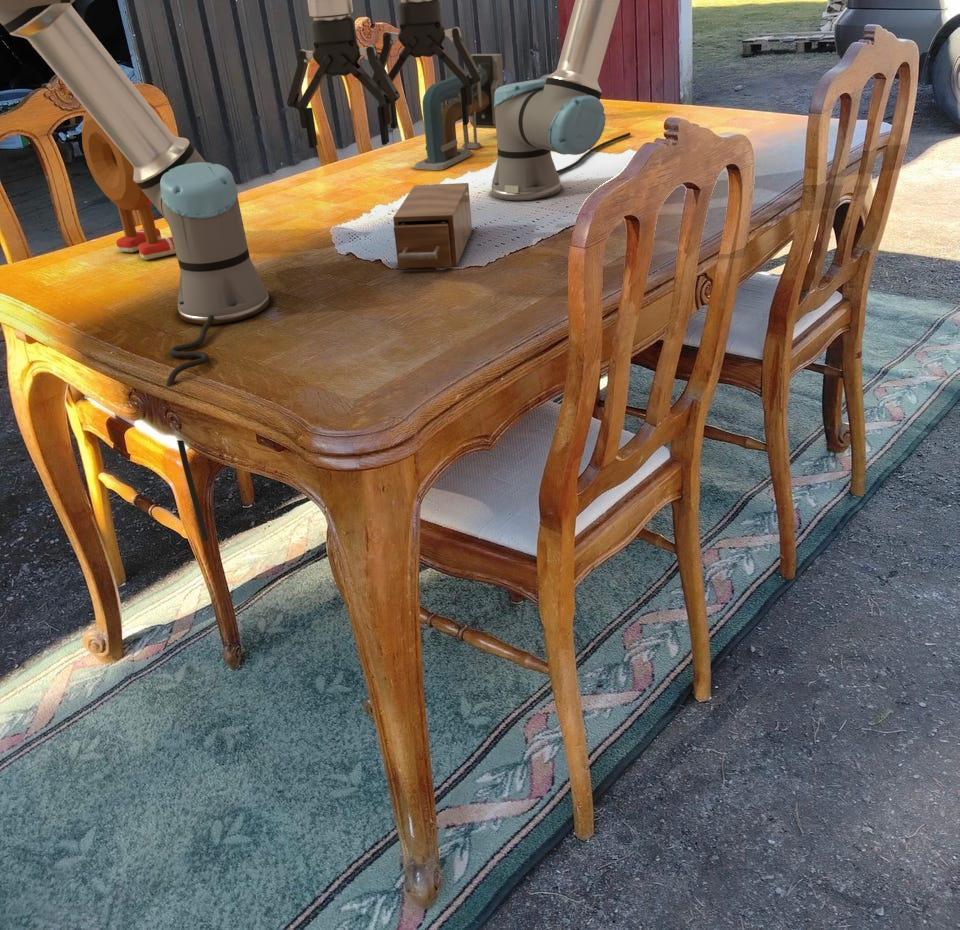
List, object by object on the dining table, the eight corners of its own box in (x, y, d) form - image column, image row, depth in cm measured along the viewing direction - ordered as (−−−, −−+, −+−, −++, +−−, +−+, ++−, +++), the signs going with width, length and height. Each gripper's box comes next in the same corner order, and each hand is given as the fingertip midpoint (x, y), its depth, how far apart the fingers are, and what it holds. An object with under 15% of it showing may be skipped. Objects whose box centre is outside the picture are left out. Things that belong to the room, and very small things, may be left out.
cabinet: (457, 265, 176) (452, 215, 172) (399, 267, 178) (393, 217, 173) (472, 229, 195) (468, 182, 190) (419, 231, 196) (414, 185, 191)
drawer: (446, 276, 169) (442, 234, 165) (393, 278, 171) (387, 236, 167) (466, 232, 191) (462, 193, 187) (418, 233, 192) (414, 195, 188)
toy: (201, 251, 195) (166, 95, 180) (157, 266, 189) (116, 105, 173) (147, 235, 208) (109, 88, 193) (104, 248, 202) (61, 97, 187)
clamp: (441, 170, 238) (433, 78, 227) (411, 168, 242) (401, 78, 231) (506, 137, 263) (501, 53, 253) (478, 136, 267) (472, 53, 257)
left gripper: (407, 10, 166) (420, 137, 177) (269, 19, 171) (290, 142, 181) (398, 15, 160) (411, 146, 171) (255, 24, 164) (277, 152, 175)
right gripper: (491, -7, 171) (498, 117, 182) (354, 1, 174) (369, 124, 185) (486, -3, 164) (494, 126, 175) (344, 6, 168) (360, 132, 179)
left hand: (349, 145), depth 176 cm, fingers open, 13 cm apart
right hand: (430, 125), depth 180 cm, fingers open, 13 cm apart
